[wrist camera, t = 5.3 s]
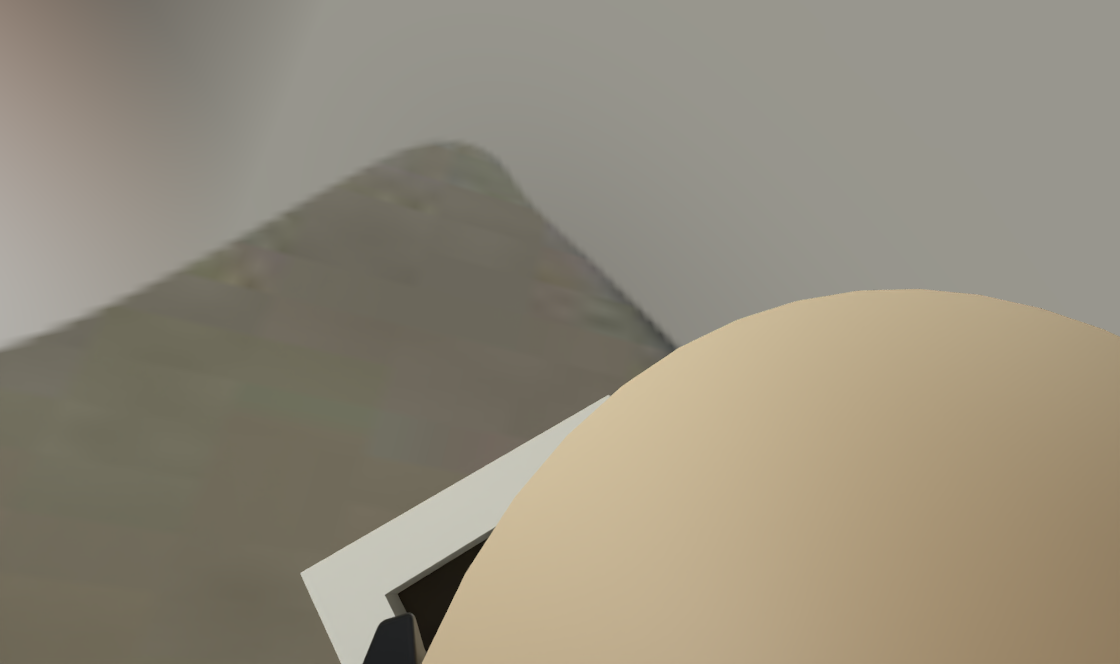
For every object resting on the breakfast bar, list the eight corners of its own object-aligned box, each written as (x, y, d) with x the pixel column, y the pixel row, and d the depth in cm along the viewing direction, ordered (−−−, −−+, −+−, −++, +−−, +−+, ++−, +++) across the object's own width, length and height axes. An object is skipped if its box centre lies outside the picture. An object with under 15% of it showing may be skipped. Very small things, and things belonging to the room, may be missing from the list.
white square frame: (756, 685, 19) (806, 702, 16) (482, 910, 16) (484, 978, 13) (590, 420, 21) (608, 394, 18) (325, 575, 18) (300, 573, 15)
